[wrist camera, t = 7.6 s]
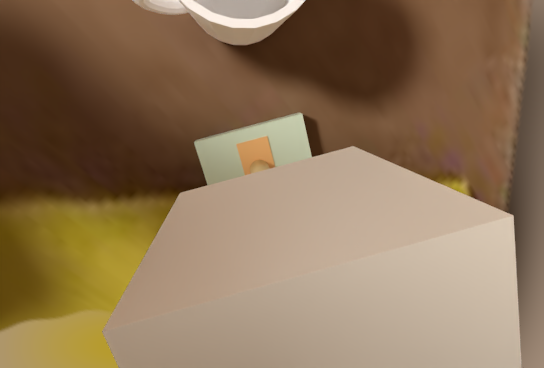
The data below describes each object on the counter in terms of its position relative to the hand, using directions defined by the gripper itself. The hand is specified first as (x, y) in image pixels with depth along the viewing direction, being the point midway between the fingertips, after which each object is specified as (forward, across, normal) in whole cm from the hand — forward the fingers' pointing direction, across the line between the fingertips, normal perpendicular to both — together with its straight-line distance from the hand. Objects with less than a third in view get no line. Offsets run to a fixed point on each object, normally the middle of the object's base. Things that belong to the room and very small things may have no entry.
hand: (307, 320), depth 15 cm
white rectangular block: (0, 0, 0) cm, 0 cm away
